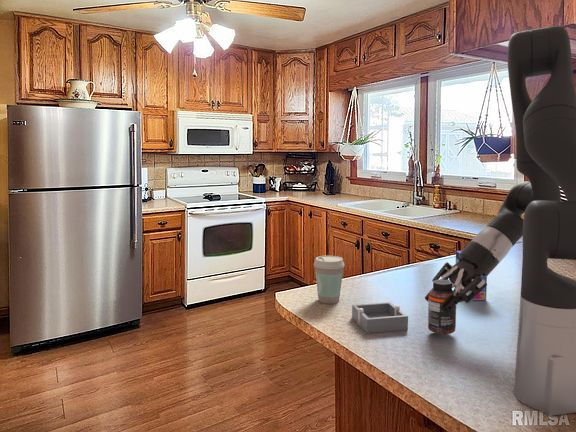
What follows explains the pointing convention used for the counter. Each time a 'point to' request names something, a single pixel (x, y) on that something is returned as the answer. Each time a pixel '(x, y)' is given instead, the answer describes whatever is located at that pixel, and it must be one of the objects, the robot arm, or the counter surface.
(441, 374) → the counter surface
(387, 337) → the counter surface
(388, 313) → the tray
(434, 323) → the supplement bottle
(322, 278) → the coffee cup
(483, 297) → the ink cartridge box
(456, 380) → the counter surface
